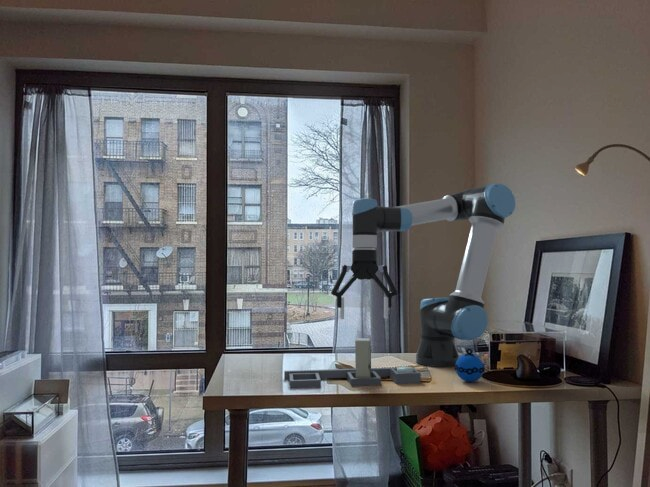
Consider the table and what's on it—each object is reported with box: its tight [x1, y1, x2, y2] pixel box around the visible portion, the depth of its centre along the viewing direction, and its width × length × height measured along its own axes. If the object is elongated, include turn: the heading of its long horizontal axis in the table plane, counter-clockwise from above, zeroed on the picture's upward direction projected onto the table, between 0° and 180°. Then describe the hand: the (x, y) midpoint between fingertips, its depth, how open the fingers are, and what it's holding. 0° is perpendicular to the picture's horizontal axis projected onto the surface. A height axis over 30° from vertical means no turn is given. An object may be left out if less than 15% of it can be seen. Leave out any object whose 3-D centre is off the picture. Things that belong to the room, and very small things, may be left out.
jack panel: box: [283, 367, 391, 389], centre depth 149 cm, size 38×11×2 cm, turn 96°
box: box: [354, 337, 372, 378], centre depth 149 cm, size 5×4×13 cm
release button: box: [396, 365, 413, 373], centre depth 150 cm, size 5×5×2 cm
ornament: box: [454, 348, 485, 383], centre depth 148 cm, size 9×9×10 cm
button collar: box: [389, 366, 422, 385], centre depth 150 cm, size 8×8×3 cm
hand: (364, 318), depth 149 cm, fingers open, 13 cm apart
